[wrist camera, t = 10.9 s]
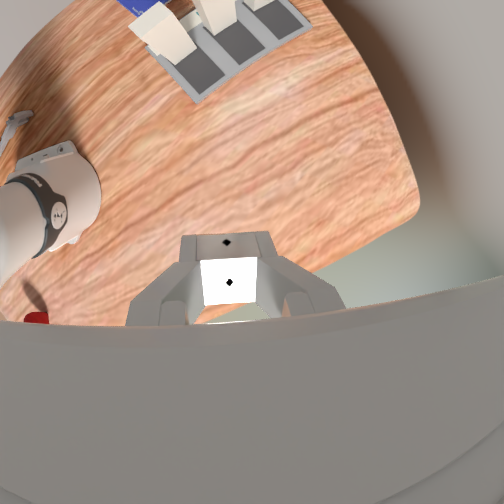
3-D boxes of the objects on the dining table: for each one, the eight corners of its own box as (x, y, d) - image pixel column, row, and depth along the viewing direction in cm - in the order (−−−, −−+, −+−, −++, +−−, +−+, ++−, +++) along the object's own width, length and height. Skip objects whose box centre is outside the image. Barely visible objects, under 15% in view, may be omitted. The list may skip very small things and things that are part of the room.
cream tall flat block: (236, 21, 28) (231, -25, 16) (214, 35, 29) (197, -5, 17) (226, 11, 28) (217, -36, 15) (204, 26, 29) (183, -16, 16)
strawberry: (52, 329, 54) (34, 355, 45) (33, 307, 51) (12, 331, 42) (61, 321, 53) (42, 348, 43) (40, 297, 50) (18, 323, 41)
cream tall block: (197, 48, 30) (172, 12, 18) (175, 65, 31) (140, 38, 19) (187, 38, 29) (159, 1, 17) (165, 55, 30) (127, 26, 18)
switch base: (311, 29, 30) (313, 26, 29) (197, 104, 35) (195, 103, 34) (257, -23, 26) (257, -27, 24) (147, 49, 31) (143, 47, 30)
